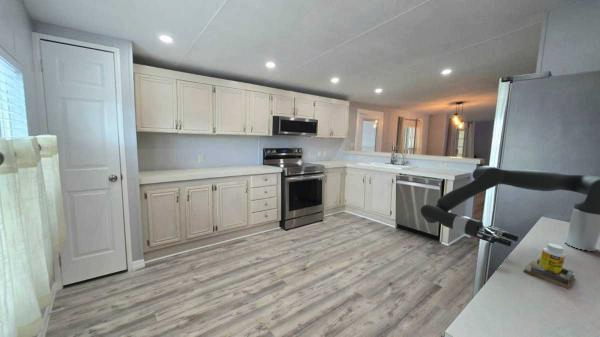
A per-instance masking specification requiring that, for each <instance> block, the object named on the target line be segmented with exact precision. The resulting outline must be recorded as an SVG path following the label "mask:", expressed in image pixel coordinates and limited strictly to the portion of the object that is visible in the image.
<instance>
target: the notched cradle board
mask: <svg viewBox="0 0 600 337" xmlns="http://www.w3.org/2000/svg"><path fill="white" fill-rule="evenodd" d="M539 262H540V259H539V258H538V259H537V261H535V260H532V261H531V262H530V263H529V264H528V265H527V266H526V267H525V268H524V269H523V273H526V274H527V275H530V276H532V277H536V278H538V279H541V280H543V281H546V282H548V283H550V284H553V285H556V286H558V287H561V288H563V289H566V290H569V288H570V287H571V284H572V283H573V282H574V279H575V277H576V275H575V274H574V271H573V270H570V269H566V268H564V267H562V270H561V274H560V275H559V276H557V275H554V274H552V273H549V272H546V271H544V270H541V269H539V268H538V266H539Z"/></svg>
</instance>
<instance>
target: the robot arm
mask: <svg viewBox="0 0 600 337" xmlns="http://www.w3.org/2000/svg"><path fill="white" fill-rule="evenodd" d="M472 178H473V180H472V181H471V182H469V183H466V184H465V185H462V186H461V187H457V188H455V189H453V190H450V191H449V192H447V193H446V194H444V195H442V196H441V197H440V198H439V199H437V201H436V203H437V204H436V205H433V204H425V205H424V204H423V206H421V208H420V214H421V216H422V217H423V218H424V220H425V221H426V222H427V223H430V224H434V223H439V224H441V225H442V226H444V227H446V228H448V229H451V230H454V231H456V232H459V233H461V234H464V235H467V236H470V237H473V238H475V239H477V238H478V239H479V240H483V241H486V242H488V243H491V244H500V245H501V244H502V245H504V246H506V247H511V246H512V243H513V242H518V240H519V236H518V235H516V234H513V233H511V232H508V231H507V230H506V229H504V228H499V227H496V226H492V225H488V226H484V222H483V221H482V220H478V219H475V218H472V217H468V216H466V215H465V216H464V215H460V214H456V213H452V212H450V211H452V210H454V209H455V208H456V207H457V206H459V205H460V204H462V203H464V202H466V201H467V200H469V199H470V198H472V197H473V198H474V196H477V195H478V194H481V193H483V192H485V191H487V190H490V189H492V188H495V187H497V186H498V185H505V186H510V187H515V188H518V189H519V188H520V189H524V190H531V191H539V192H554V191H569V192H573V193H578V194H582V195H585V196H586V198H585V200H584V201H578V202H575V203H574V205H573V209H572V214H571V218H570V221H569V225H568V227H567V228H568V229H567V232H566V236H565V239H564V243H565V242H566V243H567V244H569V245H570V246H569V247H571V246H573V247H575V248H574V249H576V248H578V249H577V250H580V249H582V250H581V251H584V250H589V251H588V252H590V251H594V250H595V251H596V248H597V245H598V242H599V238H600V175H593V174H564V173H560V172H559V173H558V172H553V171H545V170H536V169H534V170H533V169H505V168H499V167H496V166H492V165H491V166H490V165H481V166H478V167H476V168H475V169H474V170H473V172H472ZM512 241H513V242H512ZM567 244H566V245H567ZM573 247H572V248H573ZM595 251H594V252H595Z"/></svg>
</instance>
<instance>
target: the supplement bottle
mask: <svg viewBox="0 0 600 337" xmlns="http://www.w3.org/2000/svg"><path fill="white" fill-rule="evenodd" d="M564 250H565V249H564V247H563V246H561V245H560V244H556V243H549V242H548V243H547V245H546V247H543V249H542V252H541V256H540V259H539V260H540V262H539V266H538V268H539V269H541V270H544V271H546V272H549V273H552V274H554V275H557V276H559V275H560V274H561V270H562V268H563V265H564V262H565V259H566V254H565V253H564Z"/></svg>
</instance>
